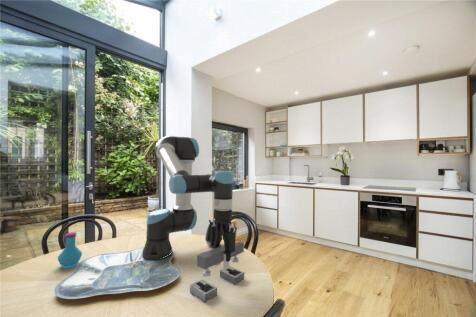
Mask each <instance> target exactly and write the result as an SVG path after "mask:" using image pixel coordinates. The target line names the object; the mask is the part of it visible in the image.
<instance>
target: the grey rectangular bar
mask: <svg viewBox="0 0 476 317" xmlns="http://www.w3.org/2000/svg"><path fill="white" fill-rule="evenodd" d="M244 247H245V242H243V241H240V240H236V239H235V251H234V252H232V253H231V262H232V263H238V262H240V260H239V257H237V256H238V255H240V254H242V253H244V252H245V251H244V249H245V248H244ZM228 250H229V249H228ZM224 252H225V246H224V244H223V245H220V247H217V248H211V249H209V250H207V251H204V252H201V253H198V254H196V266H197V267H199V268H200V269H203V271H202V276H203V277H210V276H211V272H212V271H211V270H210V269H209V268H211V267H215V265H216V264H218V263H220V262H221V263H222V262H224Z"/></svg>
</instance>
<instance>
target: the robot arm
mask: <svg viewBox="0 0 476 317" xmlns="http://www.w3.org/2000/svg"><path fill="white" fill-rule="evenodd" d="M154 147H155V148H154V151H155V155H156V157H157V158H158V159H159V160H161V161H162V163H163V166H164V168H165V170H166V171H167V174H168V176H169V177H170V178H169V181H168V187H169V191H170V193H172V195H173V194H174V195H175V205H174V206H173V207H172V210H171V211H170V209H169V208H162V209H156V210H153V211H151V212H149V213H148V214H147V216H146V241H145V243H144V244H145V245H144V246H143V249H142V254H141V256H142V258H143V259H144V260H149V261H156V259H159V260H161V259H160V258H163V257H165V256H167V255H169V254H170V253H171V252H172V253H173V247H172V244H171V240H170V234H173V233H178V232H179V233H180V232H186V231H189V230H193V229H194V228H195V227H196V225H197V222H198V214H197V211H196V209H195V208H194V206H193V205H192V194H195V193H197V194H198V193H208V192H209V193H213V208H214V210H213V220H215V221H213V220H212V221H213V222H209V224H210V228H211V235H210V245H211V246H213V247H212V249H214V248H217V247H220V246H221V243H220V241H221V235H222V240H223V245H224V246H225V252H224V261H223V265H222V266H223V268H222V269H223V270H226V269H228V268H229V266H231V265H230V264H231V263H230V261H232V257H231V253H232V252H234V251H235V241H236V233H237V230H238V228H237V226H233V225H232V221H231V220H232V219H233V190H234V189H233V187H234V186H233V185H234V179H233V172H232V171H231V170H229V171H228V170H226V171H225V170H216V171H214V174H210V173H209V174H208V173H206V174H193V163H194V162H195V161H196V158H198V157H199V154H200V146H199V143H198V142H197V139H195V138H194V137H189V136H188V137H187V136H174V135H167V136H163V137H162V138H160V139H159V140H158V141H157V142H156V144H155V146H154ZM221 242H222V241H221ZM211 246H210V247H211ZM228 249H229V250H228ZM163 259H164V258H163ZM221 263H222V262H220V263H218V264H216V265H214V267H216V266H219V265H221Z"/></svg>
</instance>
